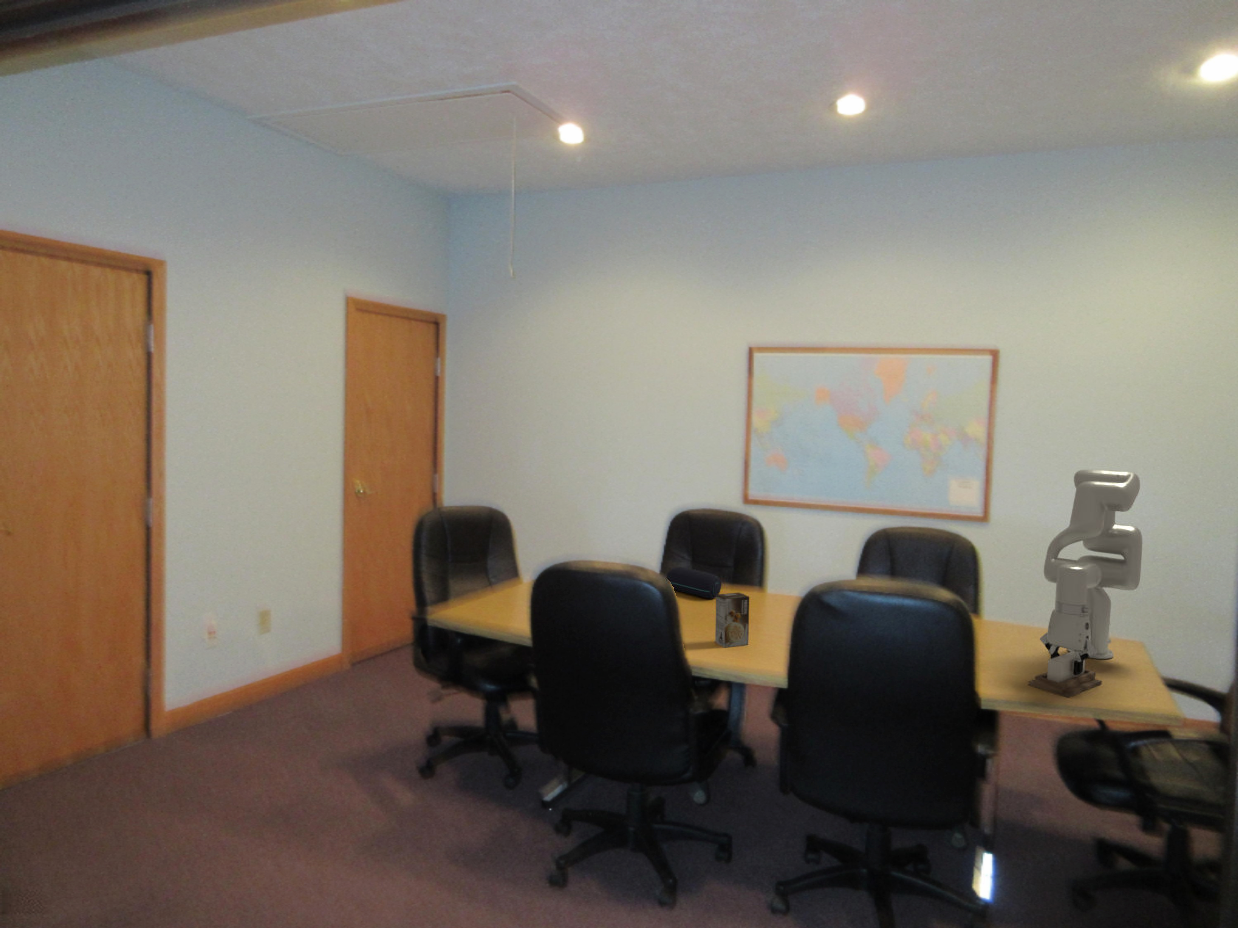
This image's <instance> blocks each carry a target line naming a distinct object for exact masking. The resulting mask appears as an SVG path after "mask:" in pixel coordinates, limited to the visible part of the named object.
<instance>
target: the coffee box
mask: <svg viewBox="0 0 1238 928" xmlns="http://www.w3.org/2000/svg"><path fill="white" fill-rule="evenodd" d="M749 622H750V596H749V595H747V594H744V593H741V592H731V593H730V592H729V593H719V594H717V595H716V598H715V632H714V633H715V635H714V638H715V639H714V641H715V643H716V644H718V645H719V646H721V647H723V648H731V647H741V646H747V645H749V633H750V632H749V627H750V623H749Z"/></svg>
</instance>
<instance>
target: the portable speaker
mask: <svg viewBox="0 0 1238 928" xmlns="http://www.w3.org/2000/svg"><path fill="white" fill-rule="evenodd" d="M666 578H667V579H668V580H669V581H670V582H671V584H672V586H673V587H674V589H675V591H678V592H681V593H683V594H684V593H685V594H688V595H693V596H697V597H701V598H705V599H708V600H712V599H716V595H717V594H721V589H722V580H721V579H720V578H719V577H718V576H717V575H716V574H714V573H710V572H705V571H701V570H698V569H697V570H696V569H693V568H688V567H683V566H676V567H672V568H671V569H670V570H668V571H667V574H666ZM667 579H666V580H667ZM674 589H673V590H674Z"/></svg>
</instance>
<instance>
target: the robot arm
mask: <svg viewBox="0 0 1238 928" xmlns="http://www.w3.org/2000/svg"><path fill="white" fill-rule="evenodd" d="M1073 483H1074V484H1073V485H1074V487H1075V493H1074V500H1073V503H1072V509H1071V510H1072V511H1071V516H1070V521H1069V525H1068V527H1066V528H1064V529H1063V530H1062V531H1061V532H1058V533H1057V534H1056V536H1055V537H1054V538H1053V539H1052V540H1051V542H1050V543H1049V545H1048V546H1047V550H1046V554H1045V560H1044V565H1043V575H1044V578H1045V580H1046V581H1048V582H1049V583H1053V584H1056V586H1055V600H1054V609H1053V610H1052V612H1051V614H1050V617H1049V621H1048V627H1047V632H1045V633H1044V634H1043V635H1042V636H1041V637H1040V638H1039V640H1040V642H1042V644H1043V645H1044V646H1045V648H1046V650H1048V653H1049V655H1050V658H1049V659H1052V658H1055V657H1058V656H1061V655H1060V653H1059V650H1060V648H1063V649H1066V650H1067V651H1069V653H1070V652H1074V653H1075V656H1076V661H1074V671H1073V674H1074V675H1078V674H1081V672H1082V671H1083V661H1084V660H1085V661H1086V660H1087V659H1088V658H1089V659H1090V658H1091V659H1100V660H1104V659H1105V660H1108V659H1111V658H1113V657H1114V652H1113V651H1112V650H1111V649H1109V644H1111V643H1112V639H1111V638H1110V635H1109V634H1110V625H1111V624H1110V623H1111V621H1110V620H1111V610H1112V601H1111V597H1110V596H1109V594H1108V593H1107V591H1106V590H1105V589H1104V588H1107V589H1109V588H1110V589H1116V590H1120V591H1121V590H1123V591H1134V590H1137V589H1138V588H1139V585H1140V582H1141V573H1142V572H1141V571H1142V559H1143V558H1142V555H1143V554H1142V551H1143V535H1142V534H1143V533H1142V532H1141V530H1140V529H1139V528H1138V527H1136V526H1134V525H1131V524H1130V525H1129V524H1120V523H1116V512H1129V511H1130V510H1131V509H1132V506H1134V503H1135V501H1136V499H1137V497H1138V495H1139V492H1140V489H1141V481H1140V478H1139V476H1138V475H1137V474H1136V473H1135V472H1132V471H1131V472H1130V471H1124V470H1123V471H1121V470H1106V469H1080V470H1078V471H1076V472H1075V473H1074V476H1073ZM1079 542H1082V545H1083V547H1084V549H1085V550H1088V551H1090V552H1095V553H1100V554H1101V553H1102V554H1109V555H1110V554H1111V555H1119V556H1121V557H1122V558H1117V557H1115V558H1114V557H1111V556H1110V557H1108V556H1102V555H1091V554H1090V555H1087V554H1086V555H1083V556H1080V557H1079V558H1078V559H1072V558H1062V557H1059V555H1060V553H1061V552H1062V550H1064V549H1065V548H1066V547H1068V546H1071V545H1073V544H1076V543H1079Z"/></svg>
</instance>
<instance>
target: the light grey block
mask: <svg viewBox="0 0 1238 928" xmlns="http://www.w3.org/2000/svg"><path fill="white" fill-rule="evenodd" d="M1074 661H1076V656H1075V653H1074V652H1070V651H1069V652H1067V653H1064V654H1061V655H1060V656H1058V657H1055V658H1052V659H1050V658H1049V659H1048V660H1047V662H1048V663H1047V672H1048V674H1047V679H1049V680H1052V681H1056V682H1059V683H1062V682H1065V681H1067V680H1070V679H1073V678H1075V677H1078V676H1080V675H1083V674H1084V670H1085V669H1086V668H1085V667H1086V659H1085V660H1084V661H1083V671H1082V672H1081V674H1078V675H1074V674H1073V671H1074Z"/></svg>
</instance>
